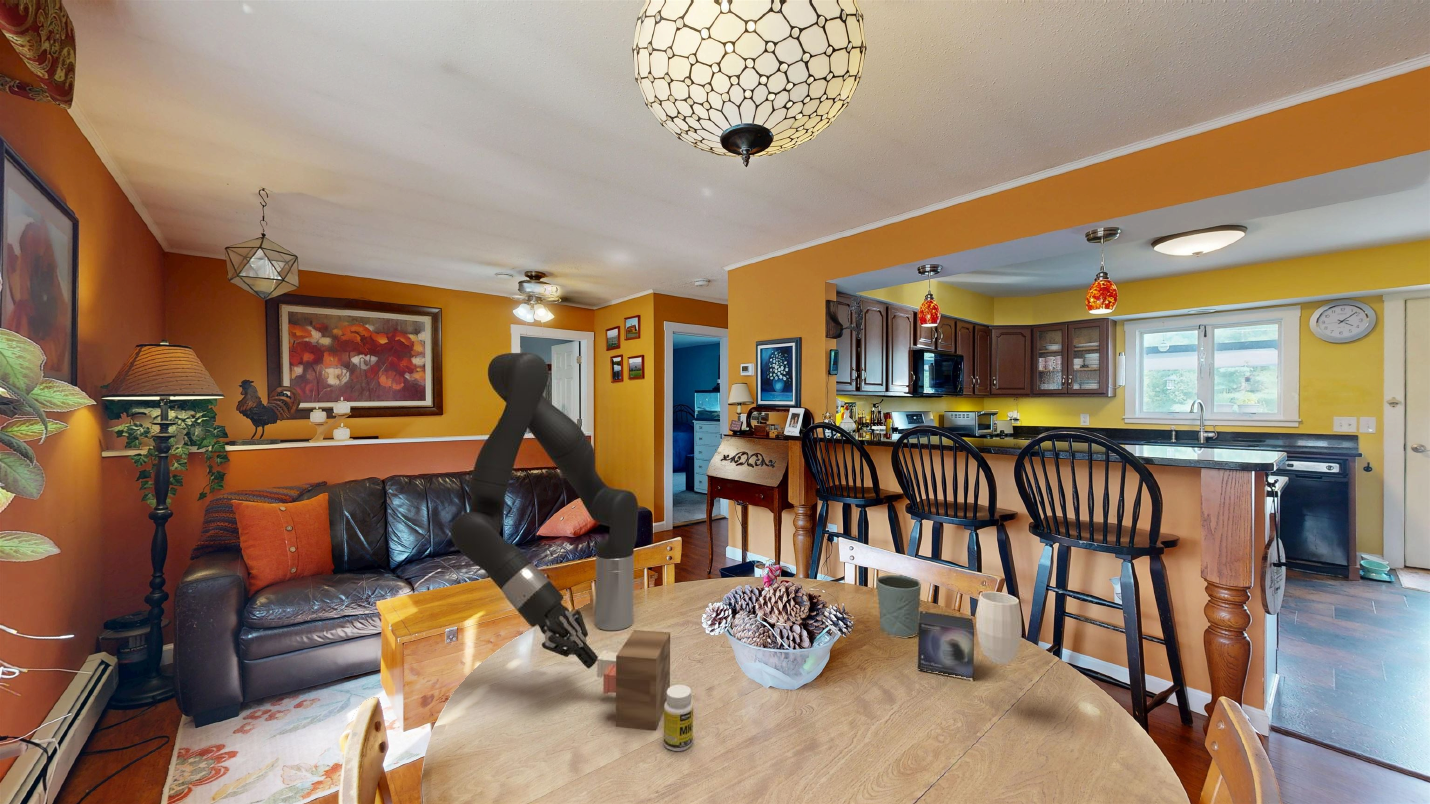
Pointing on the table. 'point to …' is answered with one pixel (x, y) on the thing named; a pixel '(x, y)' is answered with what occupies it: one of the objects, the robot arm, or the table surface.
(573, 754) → the table surface
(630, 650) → the walnut box
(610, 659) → the white block
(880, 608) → the green embossed pot
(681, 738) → the supplement bottle
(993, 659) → the cup
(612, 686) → the red button
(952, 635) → the small box
